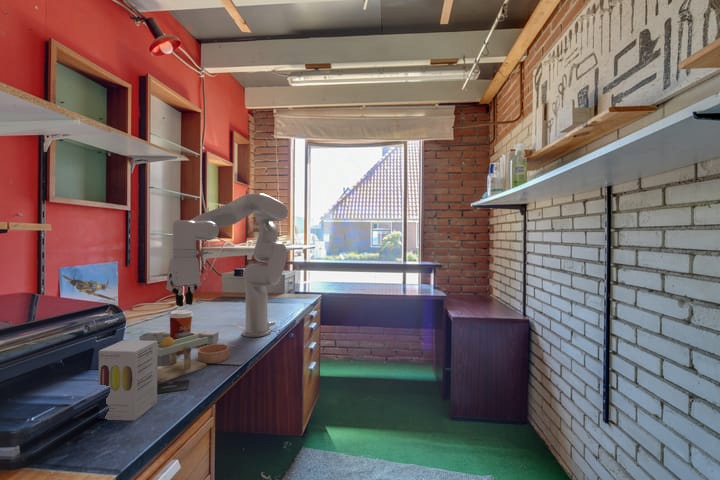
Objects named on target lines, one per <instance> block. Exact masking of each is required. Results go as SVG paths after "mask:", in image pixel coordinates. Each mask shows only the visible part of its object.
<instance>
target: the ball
mask: <svg viewBox="0 0 720 480" xmlns="http://www.w3.org/2000/svg"><path fill="white" fill-rule="evenodd" d="M161 344H162V347H163V348H166V347H170V346H173V345H174V339H173V338H171V337H166V338H164V339H163V340H162V343H161Z"/></svg>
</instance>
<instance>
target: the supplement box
mask: <svg viewBox="0 0 720 480" xmlns="http://www.w3.org/2000/svg"><path fill="white" fill-rule="evenodd" d="M157 356H158V341H142V340H140V339H139V340H137V339H136V340H135V339H134V340H131V339H130V340H129V339H123V340H120V341H118V342H116V343H114V344H111V345H108V346H106V347H104V348H102V349H100V350H99V351H98V377H97V378H98V381H97V383H98V384H97V385H106V386H110V388H111V389H110V393H109V395H108V397H107V398H106V404H107V405H108V406H110V407H109V411H108V412H107V414H106V416H105V419H107V420H106V421H129V422H130V421H136V420H138V419H139V418H140V417H141V416H143V415H144V414H145V413H146V412H148V411H149V410H151V408H153V407H154V406H155V405H156V404H157V403H158V394H157V384H158V381H157V367H158V365H157Z"/></svg>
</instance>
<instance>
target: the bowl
mask: <svg viewBox="0 0 720 480" xmlns="http://www.w3.org/2000/svg"><path fill="white" fill-rule="evenodd" d="M228 357H229V358H230V346H229V345H228V344H225V343H216V344H211V345H209V344H208V345H202V346H201V347H199V348H198V349H197V361H199V362H202V363H205V364H215V363H220V362H224V361H226V360H227V358H228ZM229 358H228V359H229ZM223 360H224V361H223Z"/></svg>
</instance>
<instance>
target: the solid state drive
mask: <svg viewBox="0 0 720 480" xmlns="http://www.w3.org/2000/svg"><path fill="white" fill-rule="evenodd" d="M189 385H190V379H183V380H176V381H171V382H170V381H168V382H160V383H157V395H161V394H162V395H163V394H168V393H176V392H183V391H188V390H189Z"/></svg>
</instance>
